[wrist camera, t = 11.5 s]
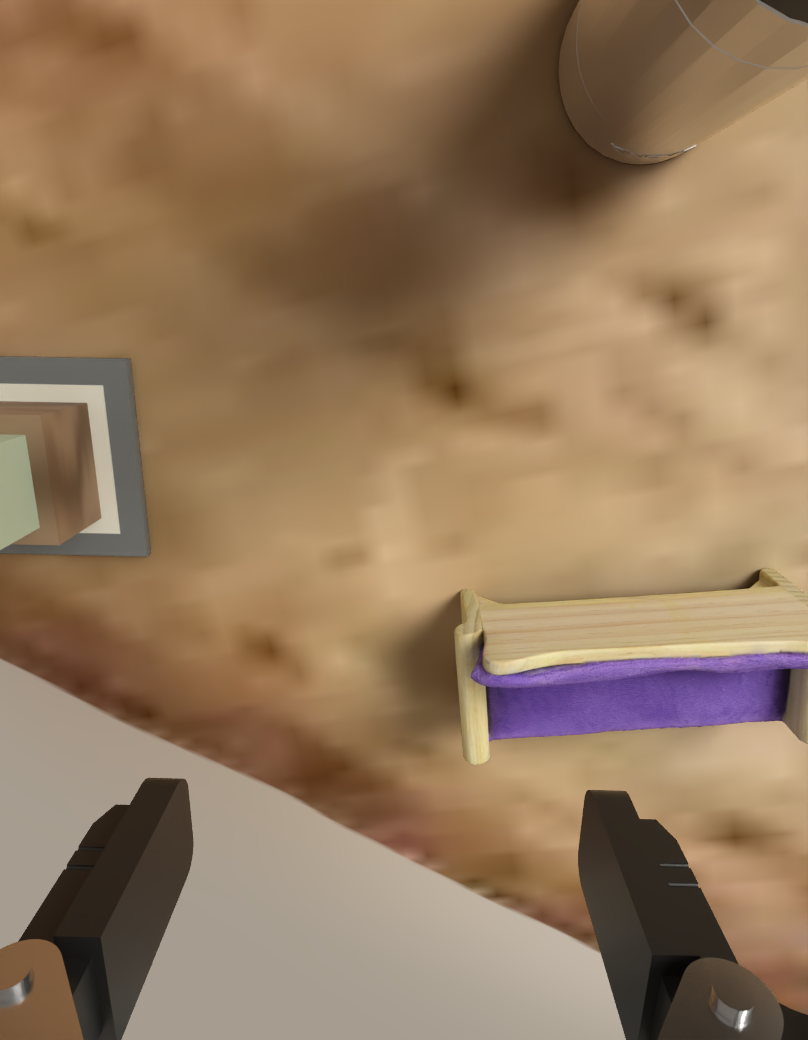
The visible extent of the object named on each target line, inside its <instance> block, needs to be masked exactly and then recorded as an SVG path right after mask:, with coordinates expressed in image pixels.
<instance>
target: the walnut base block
mask: <svg viewBox="0 0 808 1040" xmlns="http://www.w3.org/2000/svg"><path fill="white" fill-rule="evenodd" d="M0 434H2V435H25V436H26V442H27V448H28V455H29V461H30V468H31V474H32V481H33V487H34V493H35V500H36V506H37V513H38V519H39V526H40V528H38V529H37V530H35V531H33V532H31V533H30V534H28V535H26V536H24V537H23V538H21V539H19V540H17V541H16V542H14V543H12V544H23V545H61V544H62V543H64V542H65V541H67V540H68V539H70V538H72V537H73V536H75V535H76V534H78V533H79V532H81V531H82V530H84V529H85V528H87V527H89V526H90V525H92V524H93V523H95V522H96V521H98V520H99V519H101V518H102V517H101V509H100V501H99V493H98V485H97V477H96V469H95V461H94V453H93V445H92V437H91V429H90V421H89V413H88V405H87V403H73V402H20V401H0Z"/></svg>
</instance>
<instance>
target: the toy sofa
mask: <svg viewBox="0 0 808 1040" xmlns="http://www.w3.org/2000/svg"><path fill="white" fill-rule="evenodd" d="M460 600H461V617H462V624H460V625H459V626H457V627H456V628H455V630H454V640H455V653H456V667H457V680H458V693H459V705H460V719H461V732H462V746H463V756H464V758H465V760H466V761H467V762H468V763H469V764H472V765H479V764H483V763H484V762H486V761H487V760H488V759H489V758H490V751H489V741H491V740H494V739H508V738H525V737H545V736H563V735H577V734H590V733H599V732H605V731H620V730H622V731H626V730H638V729H641V730H643V729H654V728H675V727H679V728H682V727H696V726H698V727H701V726H710V725H725V724H734V723H743V722H761V721H783V722H784V723H785V724H786V725H787V726H788V727H789V729H790V730H791V731H792V732H793V733H794V734H795V735H796V736H797V738H798V739H799V740H801V741H803V742H805V743H807V744H808V594H806V593H805V592H804V591H802V590H801V589H800V588H798V587H797V586H796V585H795V584H793V583H792V582H791V581H789V580H788V579H786V578H785V577H784V576H783V575H781V574H780V573H779V572H777V571H776V570H773V569H762V570H761V571H760V574H759V581H758V582H756V583H755V584H754V585H753V586H752V587H750V588H749V589H737V590H723V591H709V592H696V593H680V594H662V595H646V596H636V597H616V598H602V599H585V600H568V601H551V602H530V603H513V604H501V603H498V602H495V601H491V600H488V599H485V598H482V597H480V596H478V595H476V593H475V591H474V590H473V589H463V590H461V592H460Z"/></svg>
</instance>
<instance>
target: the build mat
mask: <svg viewBox="0 0 808 1040" xmlns="http://www.w3.org/2000/svg"><path fill="white" fill-rule="evenodd" d="M0 401H20V402H73V403H87V405H88V413H89V421H90V429H91V437H92V445H93V453H94V461H95V469H96V477H97V485H98V493H99V501H100V509H101V517H102V518H101V519H99V520H98V521H96V522H95V523H93V524H92V525H90V526H89V527H87V528H85V529H84V530H82V531H81V532H79V533H78V534H76V535H75V536H73V537H72V538H70V539H68V540H67V541H65V542H64V543H62V544H61V545H23V544H10V545H8V546H7V547H5V548H3V549H1V550H0V554H46V555H93V556H140V557H147V556H148V555H149V554H150V553H151V552H150V542H149V532H148V523H147V513H146V504H145V494H144V484H143V475H142V465H141V455H140V446H139V436H138V426H137V417H136V407H135V398H134V388H133V378H132V369H131V359H129V358H74V357H19V356H0Z"/></svg>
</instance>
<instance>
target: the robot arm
mask: <svg viewBox="0 0 808 1040" xmlns="http://www.w3.org/2000/svg"><path fill="white" fill-rule="evenodd" d="M558 74H559V83H560V93H561V97H562V100H563V103H564V107H565V110H566V113H567V115H568V117H569V119H570V120H571V122H572V124H573V126H574V128H575V130H576V131H577V132H578V133H579V135H580V136H581V137H582V138H583V139H584V140H585V141H586V143H587V144H588V145H589V146H591V147H592V148H594V149H595V150H596V151H598V152H599V153H601V154H602V155H604V156H606V157H608V158H611V159H614V160H616V161H619V162H622V163H629V164H637V165H642V164H652V163H659V162H662V161H665V160H668V159H671V158H674V157H676V156H678V155H680V154H682V153H683V152H685V151H687V150H690V149H692V148H694V147H696V146H697V144H699V143H700V142H702V141H704V140H705V139H707V138H709V137H711V136H712V135H714V134H716V133H718V132H720V131H721V130H723V129H725V128H726V127H728V126H730V125H731V124H733V123H735V122H736V121H738V120H740V119H741V118H743V117H744V116H746V115H748V114H749V113H751V112H753V111H754V110H756V109H758V108H759V107H761V106H763V105H764V104H766V103H768V102H769V101H771V100H773V99H774V98H776V97H778V96H779V95H781V94H783V93H784V92H786V91H788V90H789V89H791V88H793V87H794V86H796V85H798V84H799V83H801V82H803V81H804V80H806V79H808V0H579V2H578V4H577V6H576V8H575V10H574V12H573V14H572V16H571V18H570V20H569V22H568V24H567V27H566V30H565V33H564V37H563V41H562V45H561V48H560V58H559V70H558ZM192 855H193V832H192V822H191V811H190V802H189V790H188V784H187V782H186V780H185V779H172V778H147V779H145V781H144V782H143V783H142V785H141V786H140V788H139V790H138V792H137V793H136V795H135V797H134V798H133V800H132V802H131V804H130V805H115V806H114V807H112V808H111V809H110V810H109V811H108V812H106V813H105V814H104V815H103V816H102V817H100V818H99V819H98V820H97V821H96V822H94V823H93V825H92V826H91V828H90V829H89V831H88V832H87V834H86V835H85V837H84V839H83V840H82V842H81V843H80V845H79V849H78V851H75V853H74V855H73V856H72V858H71V859H70V861H69V862H68V864H67V868H66V870H63V872H62V874H61V875H60V877H59V878H58V880H57V881H56V883H55V885H54V886H53V888H52V889H51V891H50V892H49V894H48V896H47V897H46V899H45V900H44V902H43V903H42V905H41V907H40V908H39V910H38V911H37V913H36V914H35V916H34V918H33V919H32V921H31V922H30V924H29V925H28V927H27V929H26V930H25V932H24V933H23V935H22V937H21V938H20V940H19V941H18V942H16V943H13V944H11V945H8V946H6V947H4V948H2V949H0V1040H121V1039H122V1036H123V1034H124V1031H125V1029H126V1026H127V1024H128V1021H129V1019H130V1016H131V1014H132V1011H133V1009H134V1007H135V1004H136V1002H137V999H138V997H139V994H140V992H141V989H142V987H143V984H144V982H145V979H146V977H147V974H148V972H149V970H150V967H151V965H152V962H153V959H154V957H155V955H156V952H157V950H158V947H159V945H160V942H161V940H162V937H163V935H164V933H165V930H166V928H167V925H168V923H169V920H170V918H171V915H172V913H173V910H174V908H175V905H176V903H177V901H178V898H179V895H180V893H181V891H182V888H183V886H184V883H185V881H186V878H187V876H188V873H189V870H190V866H191V861H192ZM578 867H579V876H580V882H581V886H582V890H583V893H584V897H585V900H586V904H587V907H588V911H589V914H590V917H591V921H592V924H593V928H594V931H595V935H596V938H597V941H598V945H599V948H600V952H601V955H602V959H603V962H604V965H605V969H606V972H607V976H608V979H609V983H610V986H611V990H612V993H613V996H614V1000H615V1003H616V1007H617V1010H618V1014H619V1017H620V1020H621V1024H622V1027H623V1031H624V1034H625V1038H626V1040H808V1015H806V1014H803V1013H800V1012H797V1011H795V1010H792V1009H790V1008H788V1007H786V1006H784V1005H782V1004H780V1003H778V1001H777V999H776V998H775V996H774V995H773V993H772V992H771V990H770V989H769V988H768V987H767V986H766V984H765V983H763V982H762V981H761V980H760V979H759V978H758V977H757V976H756V975H754V974H753V973H752V972H750V971H749V970H747V969H746V968H744V967H742V966H740V965H739V964H738V962H737V960H736V958H735V956H734V954H733V952H732V950H731V948H730V946H729V944H728V942H727V940H726V938H725V936H724V934H723V932H722V930H721V928H720V926H719V924H718V922H717V920H716V918H715V916H714V914H713V912H712V910H711V908H710V906H709V904H708V902H707V900H706V898H705V896H704V894H703V892H702V890H701V888H699V887H698V882H697V880H696V878H695V876H694V874H693V872H692V870H691V868H689V867H688V862H687V860H686V858H685V856H684V854H683V852H682V850H681V848H680V846H679V844H678V842H677V840H676V839H675V838H674V837H673V836H672V835H671V834H670V833H669V832H668V831H667V830H666V829H665V828H664V827H663V826H662V825H661V824H660V823H659V822H658V821H657V820H652V819H639V817H638V815H637V812H636V810H635V808H634V806H633V803H632V801H631V799H630V797H629V795H628V793H627V792H626V791H607V790H588V791H587V792H586V795H585V800H584V808H583V816H582V825H581V833H580V842H579V851H578Z"/></svg>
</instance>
